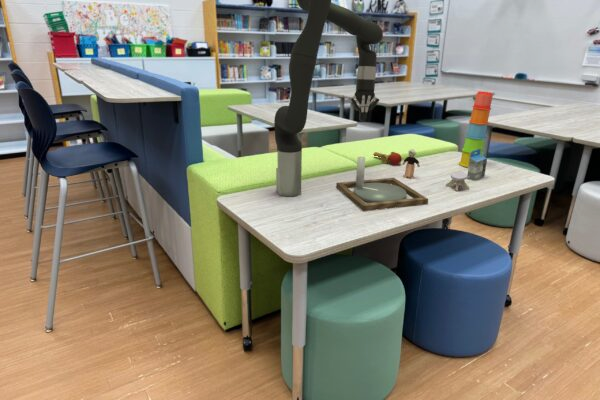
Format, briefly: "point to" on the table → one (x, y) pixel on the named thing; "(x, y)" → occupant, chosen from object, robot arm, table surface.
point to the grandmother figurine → (410, 164)
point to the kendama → (390, 158)
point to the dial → (375, 188)
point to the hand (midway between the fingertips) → (362, 121)
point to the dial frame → (416, 200)
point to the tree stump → (458, 180)
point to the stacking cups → (477, 126)
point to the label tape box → (476, 165)
